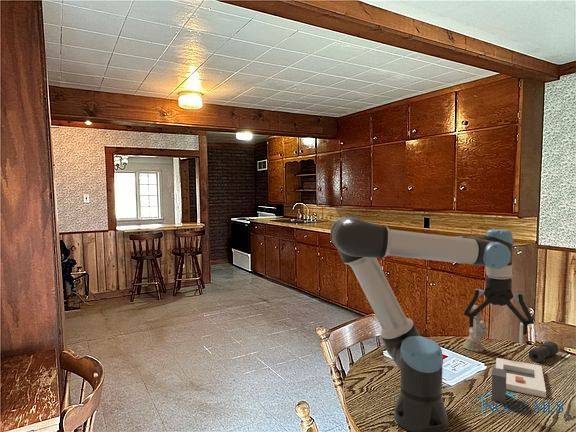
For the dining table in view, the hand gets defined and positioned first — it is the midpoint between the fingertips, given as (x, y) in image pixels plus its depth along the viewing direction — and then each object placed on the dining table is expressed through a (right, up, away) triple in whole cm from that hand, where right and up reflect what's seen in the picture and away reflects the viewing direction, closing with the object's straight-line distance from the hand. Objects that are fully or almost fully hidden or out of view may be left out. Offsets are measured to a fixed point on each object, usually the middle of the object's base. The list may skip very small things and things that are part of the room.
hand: (497, 340), depth 128 cm
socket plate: (+15, -18, +13) cm, 27 cm away
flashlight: (+36, -17, +31) cm, 50 cm away
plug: (+1, -19, 0) cm, 19 cm away
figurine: (+12, -17, +40) cm, 45 cm away
